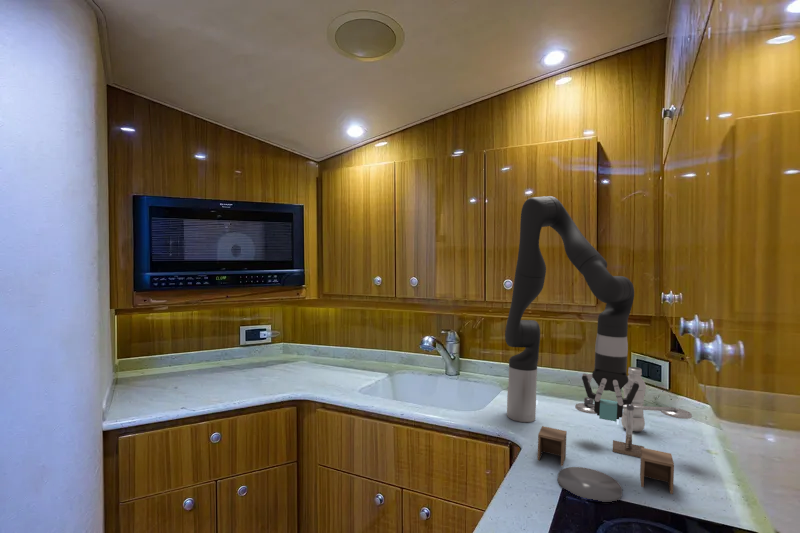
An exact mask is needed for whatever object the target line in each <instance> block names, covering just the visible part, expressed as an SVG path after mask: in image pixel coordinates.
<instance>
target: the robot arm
mask: <svg viewBox="0 0 800 533" xmlns="http://www.w3.org/2000/svg"><path fill="white" fill-rule="evenodd" d="M519 227H520V228H519V244H518V245H519V246H518V253H517V260H516V267H515V273H514V280H513V281H514V282H513V289H512V297H511V302H510V308H509V312H508V316H507V319H506V324H505V325H506V326H505V332H504V339H505V342H506V345H507V346H509V347H512V348H525V349H523V351H520V353H517V354H515V355H513V356H510V358H509V360H508V381H507V383H508V386H507V396H506V397H507V399H506V400H507V401H506V413H507V415H506V416H507V417H508V418H509V419H510V420H512V421H515V422H519V423H531V422H534V421H535V420H536V415H537V413H536V412H537V410H536V409H537V387H538V386H537V383H538V382H537V380H538V377H537V376H538V363H539V358H540V356H539V354H540V353H539V352H540V344H541V343H540V342H541V328H540V324H539V323H538V321H536V320H532V319H531V320H530V319H522V317H523V314H525V311H526V310H527V309H528V307H529V306H530V305H531V304H532V303H533V302H534V301H535V299H537V297H538V296H539V295H540V294H541V293H542V290H543V289H544V285H545V280H546V273H547V265H546V262H545V259H544V257H543V255H542V254H543V253H542V252H541V249H540V236H541V231H542V228H546V227H550V228H552V230H554V231H555V232H556V233H557V234H558V235H559V236H560V238H561V240H562V243H563V246H564V251H565V254H566V256H567V258H568V260H569V261H570V263H571V264H572V265H573V266H574V267H575V268H576V270H578V272H579V273H580V274H581V275H582V276H583V279H584V280H585V282H586V284H587V286H588V287H589V289H590V291H591V293H592V294H593V295H594V297H595V298H596V299H598V300H599V301H600V302H602V303H604V304H605V308H604V310H603V311H602V312H601V313H599V315H598V317H597V330H596V332H597V333H596V339H595V346H594V347H595V348H594V350H595V352H594V370H593V371H592V373H588V374H587V373H583V374H582V376H581V380H582V383H583V386H584V388H585V392H586V397H588V398H592V399H593V402H594V404H595V405H594V411H595V413H597V414H596V416H598V417H599V414H600V399H602V395H603V393H604V391H610V392H613V393H614V394H615V397H616V402H617V420H620V418H621V419H622V415H623V410H624V409H623V406H624V405H626V404H628V405H630V404H631V403H632V401H633V399H634V397H635V395H636V392H637V390H638V388H639V383H638V382H637V381H635V382H634V381H632V380H630V379H628V371H627V368H628V367H627V366H628V352H629V350H628V349H629V348H628V347H629V344H628V320H629V318H630V317H629V316H630V314H631V311H632V307H633V303H634V300H635V288H634V284H633V282H632V281H631V280H630V279H629V278H628V277H626V276H622V275H612V274H611V273H610V272H609V270H608V269H607V268H608V262H607V260H606V259H605V258H604V257H603V256H602V255H601V253H599V251H598V250H596V248H595V247H594V245H592V243H590V241H588V239H587V238H586V237H585V236H584V235H583V234H582V232H581V231H580V229H579V227H578V226H577V224H576V223H575V222H574V220H573V218H572V217H571V216H570V214H569V212H568V211H567V209H566V208H565V207H564V205H563V203H562V202H561V201H560V200H559V199H558V198H557V197H555V196H551V195H549V196H548V195H545V196H534V197H528V198H527V199H526V200H525V201H524V202H523V205H522V208H521V212H520V225H519ZM592 379H593V381H594V382H595V383H596V385H597V386H598V387H597V389H596V392H595V393H594V392H593V389H592V385H591V383H592ZM627 383H628V384H629V389H630V391H629V393H628V395H627V397H626V398H624V397H623V395H622V390H621V389H623V386H624V385H625V384H627Z"/></svg>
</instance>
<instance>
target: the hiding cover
mask: <svg viewBox="0 0 800 533" xmlns="http://www.w3.org/2000/svg"><path fill="white" fill-rule="evenodd" d="M543 453H546V454H551V455H554V456H555V455H556V456H559V457H560V466H561V467H563V466H564V463H565V460H566V456H567V430H564V429H558V428H553V427H547V426H543V425H541V428H540V430H539V432H538V434H537V457H536V458H537V459H536V460H537V461H540V459H541V457H542V455H543Z"/></svg>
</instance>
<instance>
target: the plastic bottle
mask: <svg viewBox="0 0 800 533" xmlns="http://www.w3.org/2000/svg"><path fill="white" fill-rule="evenodd" d="M642 372H643V371H642V368H640V367H636V366H629V367H628V371H627V376H628V379H630V380H632V381H634V382H635V381H637V382H638V383H639V388H638V390H637V392H636V395H635V397H634V399H633V401H632V403H631V404H632V405H633V406H644V399H645V394H646V388H647V385H646V382H645V381H644V379H643V377H642V376H643V374H642ZM622 389H623V390H622V391H623V398H626V397H627V395H628V393H629V391H630V389H629V384H628V383H627V384H625V385H624V386H623V387H622ZM626 405H627V404H626ZM620 420H621V425H622V427H623V428H624V429H625V430H626V420H627V409H623V415H622V418H621V419H620ZM645 424H646V423H645V417H644V410H633V431H632V432H636V433H639V432H643V430H644V429H645Z"/></svg>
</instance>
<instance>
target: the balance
mask: <svg viewBox="0 0 800 533" xmlns="http://www.w3.org/2000/svg"><path fill="white" fill-rule="evenodd" d="M583 401H584V402H582V403H581V402H579V403H576V404H574V406H575V408H574V409H576V411H578V412H580V413H585V414H590V415H591V414H592V415H595V414H596V415H597V413H595V411H594V405H595V403H594V400H593V399H592V398H589V397H588V396H586V397H584V398H583ZM624 409H627V420H626V429H625V442H623V441H620V440H616V439H615V440H612V453H617V454H621V455H627V456H631V457H635V458H636V457H637V458H640V459H641V447H642V448H645V446H644V445H639V444H634V443H633V432H634V431H633V410H643V411H656V412H657V411H659V412H661V414H663V415H666V416H669V417H670V418H671V417H672V418H676V419H681V420H682V419H684V420H688V419H691V418H692V413H691V412H690V411H688V410H686V409H683V408H678V407H672V406H649V405H647V406H646V405H645V406H644V405H643V406H633V405H632V404H630V405H628V404H627V405H624V406H623V410H624Z"/></svg>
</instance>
